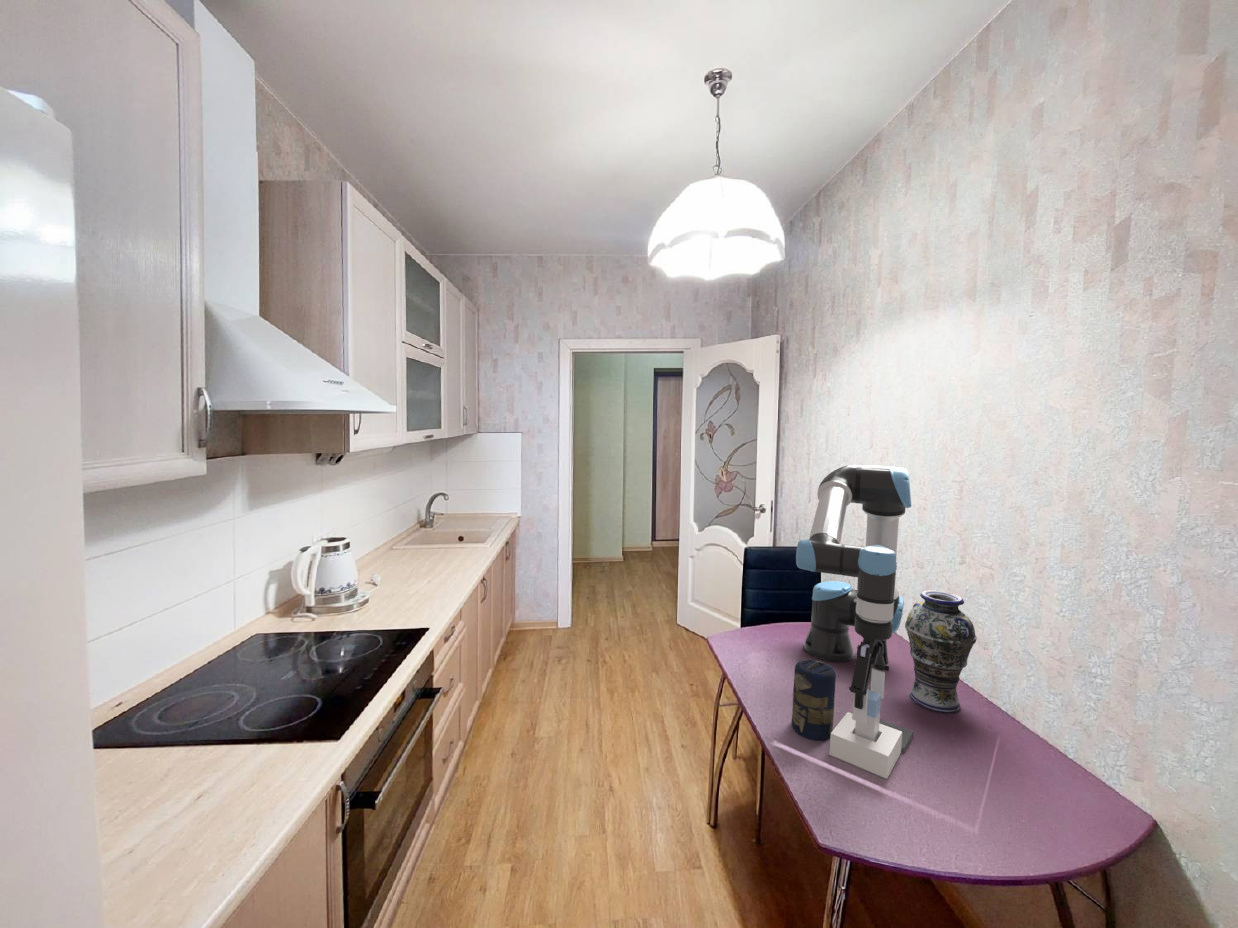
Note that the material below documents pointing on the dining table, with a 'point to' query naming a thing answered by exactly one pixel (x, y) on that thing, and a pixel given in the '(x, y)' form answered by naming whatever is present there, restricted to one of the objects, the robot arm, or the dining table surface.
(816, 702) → the canister
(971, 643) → the vase
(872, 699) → the plug
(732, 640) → the dining table surface
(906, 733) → the gray recessed square plate
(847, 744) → the block
